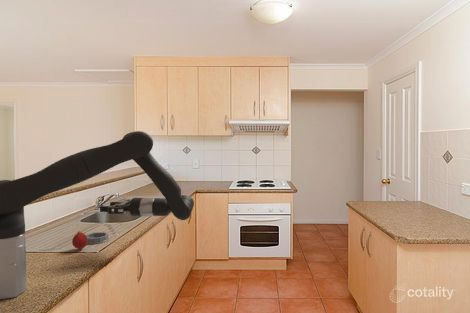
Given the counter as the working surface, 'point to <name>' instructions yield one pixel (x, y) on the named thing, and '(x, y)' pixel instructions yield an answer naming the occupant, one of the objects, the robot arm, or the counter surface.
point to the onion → (80, 240)
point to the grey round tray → (97, 237)
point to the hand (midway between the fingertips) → (105, 206)
